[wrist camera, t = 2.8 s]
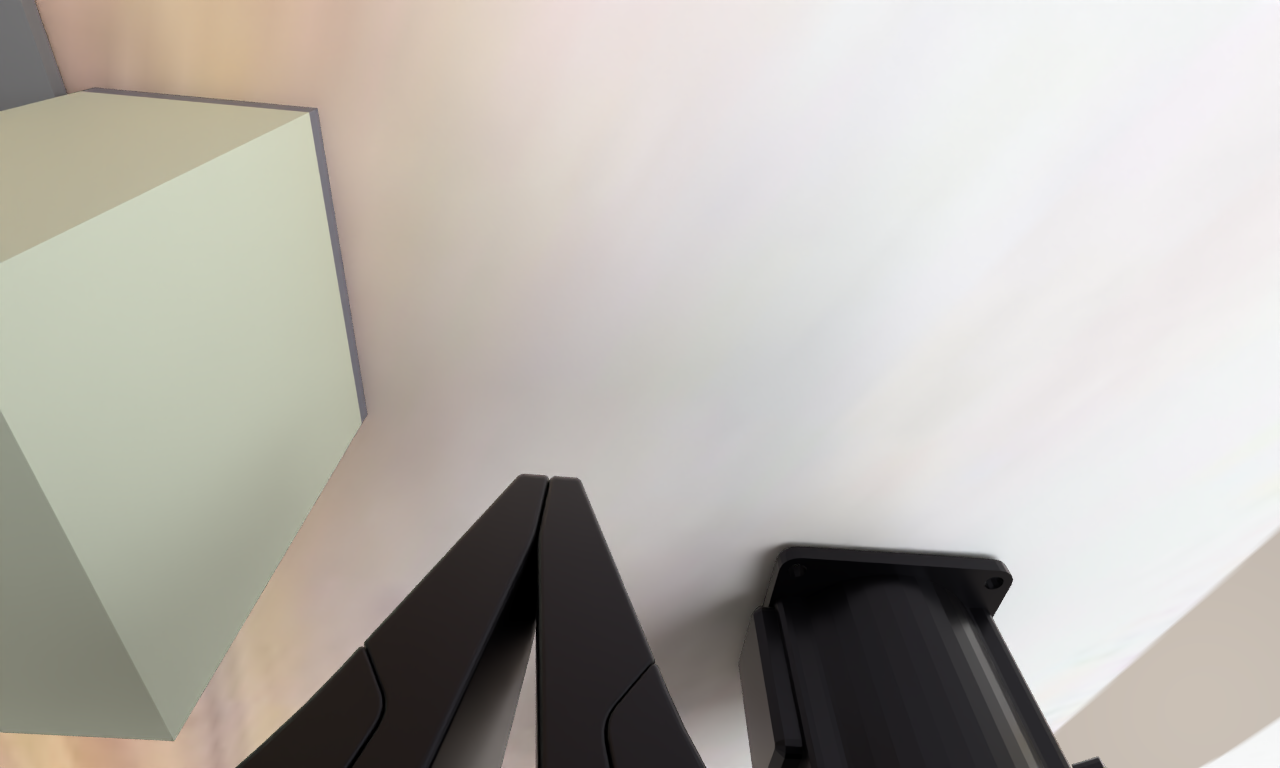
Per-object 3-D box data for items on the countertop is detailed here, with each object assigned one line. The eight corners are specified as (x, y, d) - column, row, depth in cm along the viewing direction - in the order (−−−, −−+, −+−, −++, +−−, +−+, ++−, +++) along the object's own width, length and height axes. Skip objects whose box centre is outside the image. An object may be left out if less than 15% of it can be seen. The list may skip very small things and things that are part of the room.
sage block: (317, 107, 12) (-61, 294, 6) (367, 413, 16) (174, 741, 10) (95, 87, 12) (-563, 253, 6) (198, 401, 16) (-120, 725, 9)
